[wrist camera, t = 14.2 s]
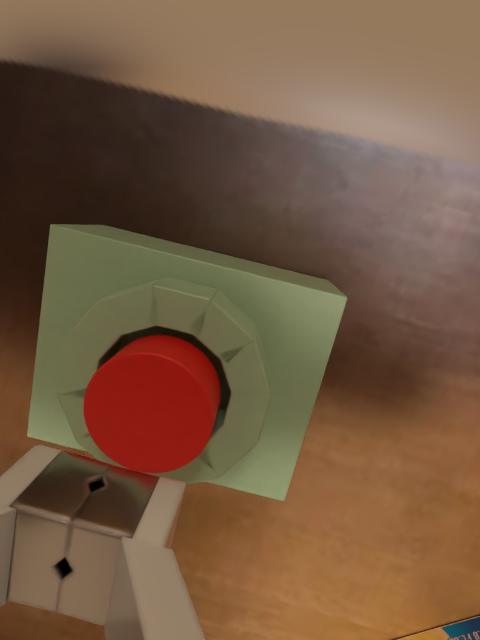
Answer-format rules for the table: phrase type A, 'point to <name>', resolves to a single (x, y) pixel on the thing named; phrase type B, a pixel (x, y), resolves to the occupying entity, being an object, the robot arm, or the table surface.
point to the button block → (194, 327)
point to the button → (153, 404)
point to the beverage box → (451, 631)
